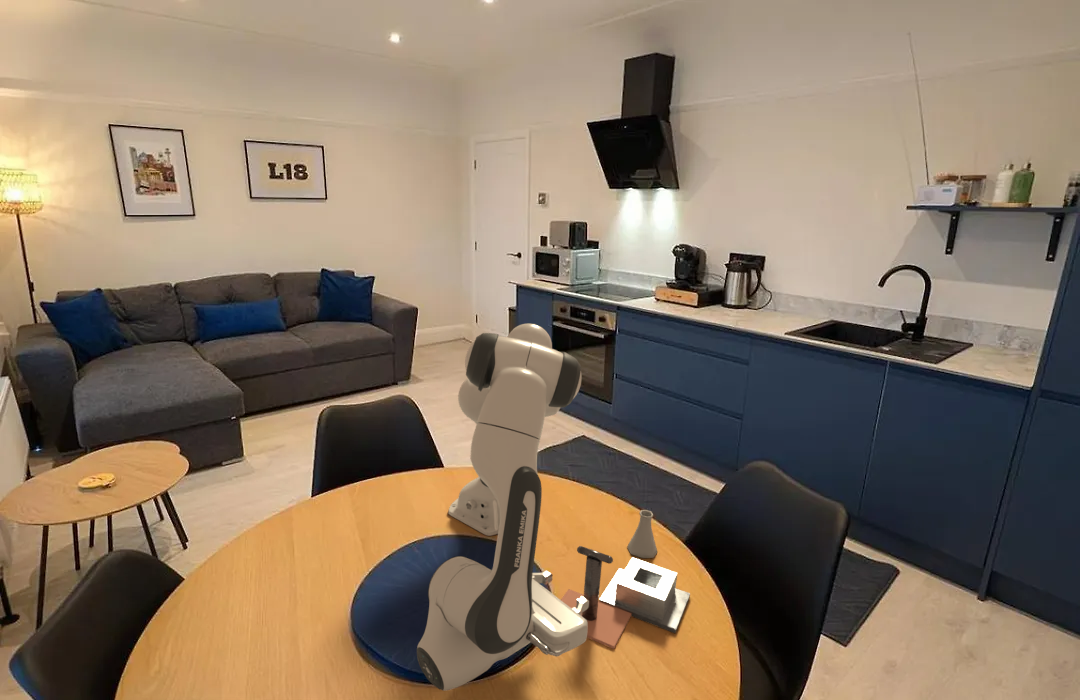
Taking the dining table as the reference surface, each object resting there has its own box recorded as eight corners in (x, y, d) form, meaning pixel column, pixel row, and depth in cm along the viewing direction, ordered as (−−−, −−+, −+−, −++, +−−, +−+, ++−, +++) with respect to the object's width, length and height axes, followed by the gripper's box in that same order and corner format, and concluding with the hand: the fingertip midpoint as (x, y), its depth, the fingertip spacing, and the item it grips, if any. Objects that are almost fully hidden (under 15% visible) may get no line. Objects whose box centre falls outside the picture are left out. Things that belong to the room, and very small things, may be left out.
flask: (657, 561, 128) (662, 523, 126) (626, 556, 130) (630, 519, 127) (657, 544, 135) (661, 508, 133) (627, 539, 137) (631, 503, 134)
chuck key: (569, 613, 110) (574, 549, 106) (575, 604, 112) (580, 541, 109) (604, 627, 106) (610, 561, 103) (609, 617, 109) (615, 553, 105)
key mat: (547, 620, 108) (547, 617, 108) (568, 591, 117) (568, 588, 117) (613, 649, 102) (614, 646, 102) (631, 616, 110) (631, 613, 110)
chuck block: (599, 603, 114) (601, 580, 112) (618, 571, 124) (621, 550, 123) (675, 633, 107) (678, 609, 105) (689, 597, 117) (692, 575, 116)
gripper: (553, 642, 84) (611, 603, 93) (474, 575, 99) (532, 547, 108) (550, 676, 86) (608, 635, 95) (474, 605, 100) (530, 575, 109)
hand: (567, 588), depth 101 cm, fingers open, 8 cm apart
